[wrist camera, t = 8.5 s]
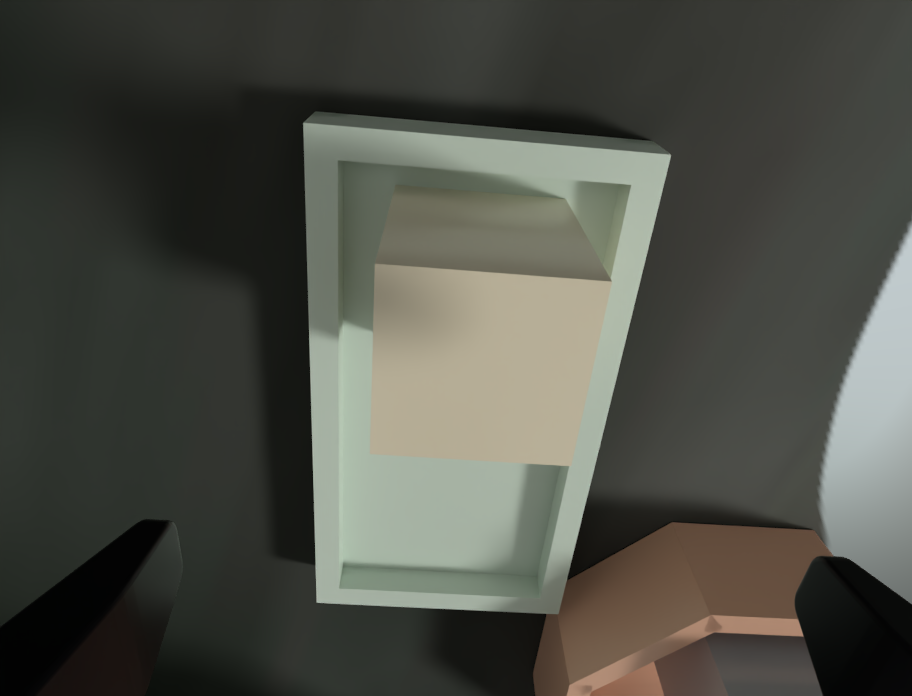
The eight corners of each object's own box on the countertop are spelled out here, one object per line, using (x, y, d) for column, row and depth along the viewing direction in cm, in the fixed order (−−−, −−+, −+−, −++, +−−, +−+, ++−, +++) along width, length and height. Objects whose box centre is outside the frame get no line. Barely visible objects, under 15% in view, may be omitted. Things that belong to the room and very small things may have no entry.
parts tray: (552, 579, 25) (558, 614, 24) (324, 567, 25) (316, 602, 23) (653, 141, 17) (671, 154, 16) (315, 111, 16) (302, 122, 15)
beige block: (540, 346, 19) (571, 466, 14) (389, 336, 19) (369, 454, 14) (565, 198, 17) (612, 281, 12) (395, 184, 17) (375, 263, 12)
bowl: (793, 735, 30) (838, 832, 27) (520, 725, 30) (530, 823, 26) (912, 535, 24) (991, 628, 21) (569, 516, 23) (590, 609, 20)
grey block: (756, 649, 26) (825, 797, 21) (648, 644, 26) (694, 792, 21) (794, 572, 24) (880, 717, 19) (677, 566, 24) (734, 711, 19)
